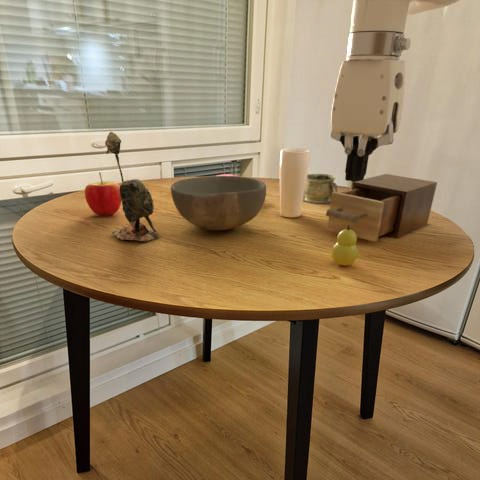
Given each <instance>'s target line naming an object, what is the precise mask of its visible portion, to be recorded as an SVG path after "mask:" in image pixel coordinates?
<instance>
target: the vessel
mask: <svg viewBox="0 0 480 480" xmlns="http://www.w3.org/2000/svg"><path fill="white" fill-rule="evenodd" d="M335 180H336V176H335V175H332V174H327V173H308V175H307V181H306V187H305V192H304V198H303V201H305V202H309V203H313V204H327V203H331V195H332V192H338V189H339V188H338V185H337V183H336V182H335Z"/></svg>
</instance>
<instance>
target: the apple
mask: <svg viewBox="0 0 480 480" xmlns="http://www.w3.org/2000/svg"><path fill="white" fill-rule="evenodd" d="M98 174H99V179H100V181H98V182H93V183H89V184H87V185H86V186H85V188H84V198H85V201H86V203H87V205H88V207H89V209H90V210H91V211H92V212H93V213H95V214H96V215H97V216H102V217H103V216H104V217H106V216H108V217H109V216H112V215H114V214H116V213H117V212H118V211H119V209H120V207H121V205H122V201H121V196H120V190H119V187H120V185H119V184H118V183H117V182H116V181H111V180H104V181H103V179H102V174H101V172H98Z"/></svg>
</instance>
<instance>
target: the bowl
mask: <svg viewBox="0 0 480 480" xmlns="http://www.w3.org/2000/svg"><path fill="white" fill-rule="evenodd" d="M238 176H239V175H236V176H218V175H217V176H216V175H213V176H211V175H209V176H201V177H199V176H198V177H191V178H185V179H180V180H177V181H174V182H173V183H172V184H171V186H170V194H171V198H172V201H173V203H174V207H175V208H176V210H177V213H179V215H180V216H182V218H183V219H184V220H185V221H187V222H188V223H190V224H191V225H194V226H196V227H198V228H201V229H204V230H209V231H215V232H217V231H219V232H220V231H227V230H231V229H234V228H238V227H241V226H243V225H245V224H247V223H249V222H251V221H252V220H253V219H254V218H255V217H256V216H258V214H259V213H260V212H261V210H262V208H263V206H264V204H265V201H266V196H267V185H266V182H265V183H263V182H261V181H262V180H260V179H256V178H251V177H245V176H241V177H238ZM259 180H260V181H259Z"/></svg>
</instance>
